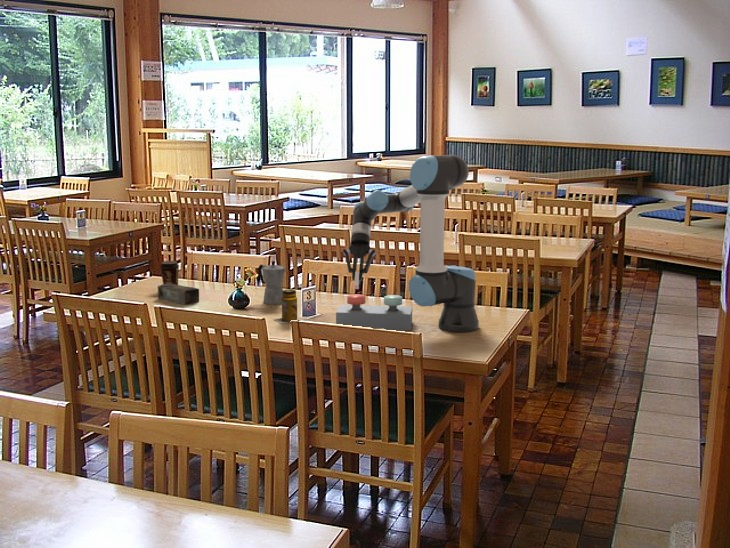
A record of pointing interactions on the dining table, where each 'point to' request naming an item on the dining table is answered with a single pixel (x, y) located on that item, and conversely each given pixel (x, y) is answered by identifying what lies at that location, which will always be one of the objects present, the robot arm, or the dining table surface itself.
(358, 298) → the red button
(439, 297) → the robot arm
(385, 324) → the control box
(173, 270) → the coffee cup
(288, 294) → the condiment
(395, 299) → the teal button
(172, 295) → the dark grey brick
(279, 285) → the coffeepot
